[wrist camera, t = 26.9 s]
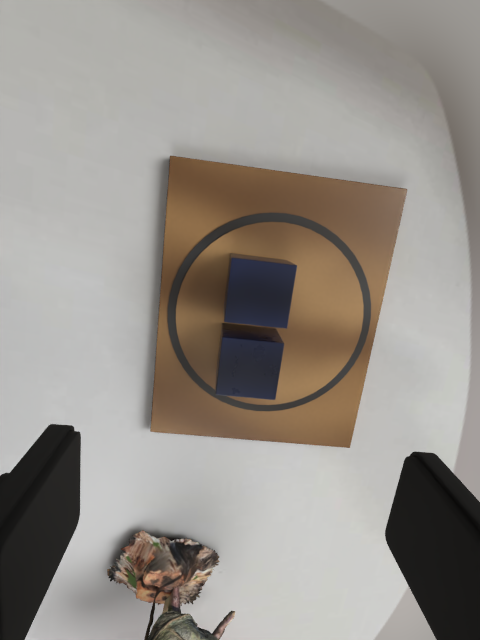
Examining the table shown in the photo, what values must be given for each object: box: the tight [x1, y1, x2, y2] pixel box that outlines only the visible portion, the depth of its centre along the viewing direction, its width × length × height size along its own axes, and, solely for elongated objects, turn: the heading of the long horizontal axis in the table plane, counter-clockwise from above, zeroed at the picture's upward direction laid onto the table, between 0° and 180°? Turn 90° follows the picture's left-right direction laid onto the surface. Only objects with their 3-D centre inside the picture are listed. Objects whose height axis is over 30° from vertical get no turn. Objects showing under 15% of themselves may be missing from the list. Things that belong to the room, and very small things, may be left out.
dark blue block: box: [215, 323, 284, 400], centre depth 25 cm, size 4×4×4 cm
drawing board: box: [150, 156, 407, 448], centre depth 27 cm, size 20×16×1 cm
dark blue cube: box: [224, 253, 297, 329], centre depth 24 cm, size 4×4×4 cm
